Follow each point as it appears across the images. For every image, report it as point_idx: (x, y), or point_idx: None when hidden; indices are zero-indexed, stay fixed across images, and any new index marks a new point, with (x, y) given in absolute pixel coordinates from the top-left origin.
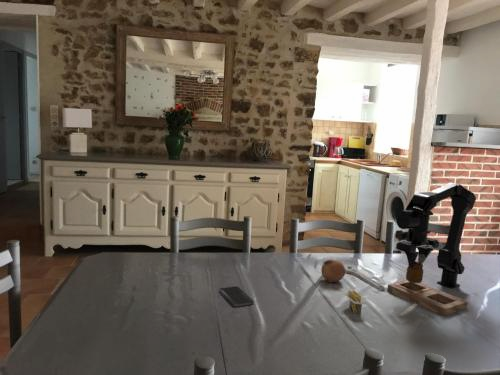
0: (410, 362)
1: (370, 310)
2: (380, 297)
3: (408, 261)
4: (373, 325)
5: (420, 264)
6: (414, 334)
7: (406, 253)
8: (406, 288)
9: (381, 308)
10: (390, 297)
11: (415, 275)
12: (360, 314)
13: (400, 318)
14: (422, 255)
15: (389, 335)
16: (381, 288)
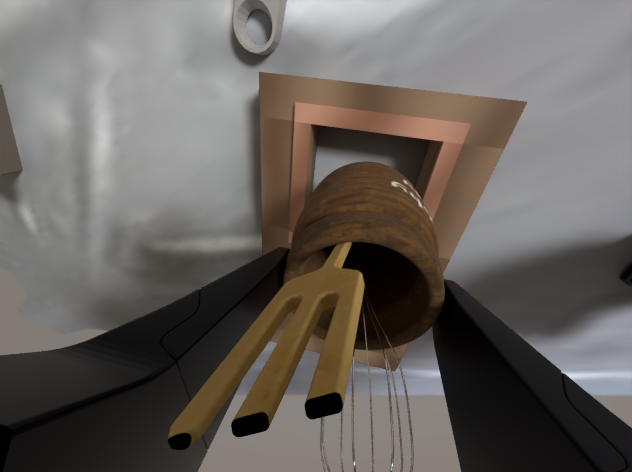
0: (59, 325)
1: (68, 171)
2: (174, 116)
3: (234, 277)
4: (40, 230)
5: (421, 312)
6: (122, 303)
7: (75, 364)
8: (298, 189)
9: (116, 186)
10: (220, 146)
11: (309, 263)
12: (21, 169)
13: (137, 255)
14: (488, 447)
15: (61, 273)
16: (241, 44)
